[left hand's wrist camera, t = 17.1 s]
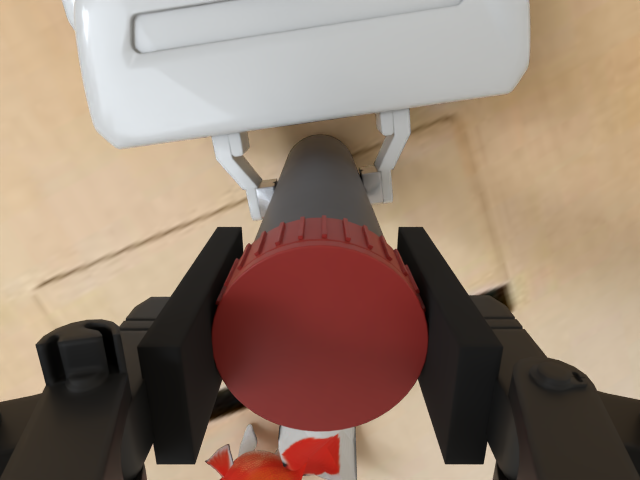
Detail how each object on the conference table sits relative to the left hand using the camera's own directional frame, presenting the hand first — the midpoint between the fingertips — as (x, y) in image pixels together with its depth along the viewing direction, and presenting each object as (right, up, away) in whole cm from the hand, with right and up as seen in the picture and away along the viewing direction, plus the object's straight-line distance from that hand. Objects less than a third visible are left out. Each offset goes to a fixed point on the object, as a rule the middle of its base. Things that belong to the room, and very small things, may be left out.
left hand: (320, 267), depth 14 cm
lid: (0, -1, -4) cm, 4 cm away
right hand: (0, +3, +9) cm, 10 cm away
